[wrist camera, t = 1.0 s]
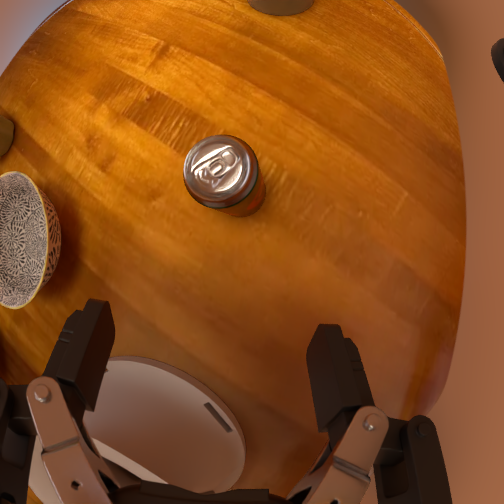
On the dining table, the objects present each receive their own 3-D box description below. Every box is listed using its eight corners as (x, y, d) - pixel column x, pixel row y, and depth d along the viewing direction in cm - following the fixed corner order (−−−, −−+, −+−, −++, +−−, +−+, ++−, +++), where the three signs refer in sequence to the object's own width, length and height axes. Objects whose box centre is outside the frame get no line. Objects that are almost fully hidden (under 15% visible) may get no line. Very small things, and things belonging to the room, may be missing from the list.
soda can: (206, 189, 30) (163, 164, 18) (245, 158, 30) (224, 114, 18) (237, 227, 30) (209, 224, 18) (276, 196, 30) (274, 172, 18)
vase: (286, 431, 31) (284, 531, 16) (191, 511, 34) (166, 579, 18) (111, 315, 32) (20, 361, 17) (63, 425, 35) (7, 474, 19)
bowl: (51, 154, 32) (13, 143, 25) (109, 241, 32) (69, 244, 24) (0, 236, 34) (-35, 237, 26) (47, 320, 34) (11, 334, 26)
